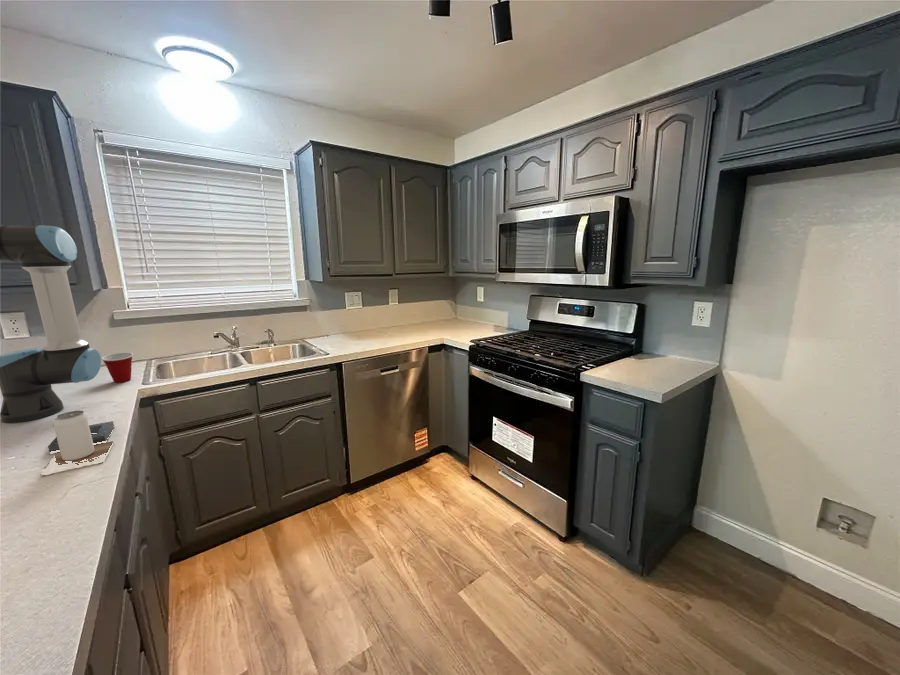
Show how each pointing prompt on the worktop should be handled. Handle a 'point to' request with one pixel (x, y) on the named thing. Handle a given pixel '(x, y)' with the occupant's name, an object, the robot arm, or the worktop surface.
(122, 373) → the plastic cup
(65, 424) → the can
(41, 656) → the worktop surface
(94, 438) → the steel collar
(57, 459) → the walnut pad
